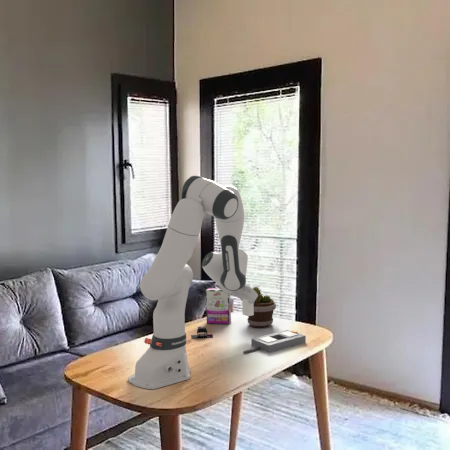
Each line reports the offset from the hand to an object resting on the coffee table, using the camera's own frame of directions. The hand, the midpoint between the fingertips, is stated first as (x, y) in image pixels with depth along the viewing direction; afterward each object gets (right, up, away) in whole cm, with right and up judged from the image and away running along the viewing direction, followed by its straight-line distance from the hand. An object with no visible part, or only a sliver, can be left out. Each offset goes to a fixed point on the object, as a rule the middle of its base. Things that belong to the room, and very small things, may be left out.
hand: (248, 301), depth 227 cm
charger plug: (0, -6, 0) cm, 6 cm away
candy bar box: (-13, -14, +23) cm, 30 cm away
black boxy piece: (-20, -17, +3) cm, 26 cm away
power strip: (+8, -17, -12) cm, 22 cm away
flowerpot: (+6, -14, +18) cm, 24 cm away
